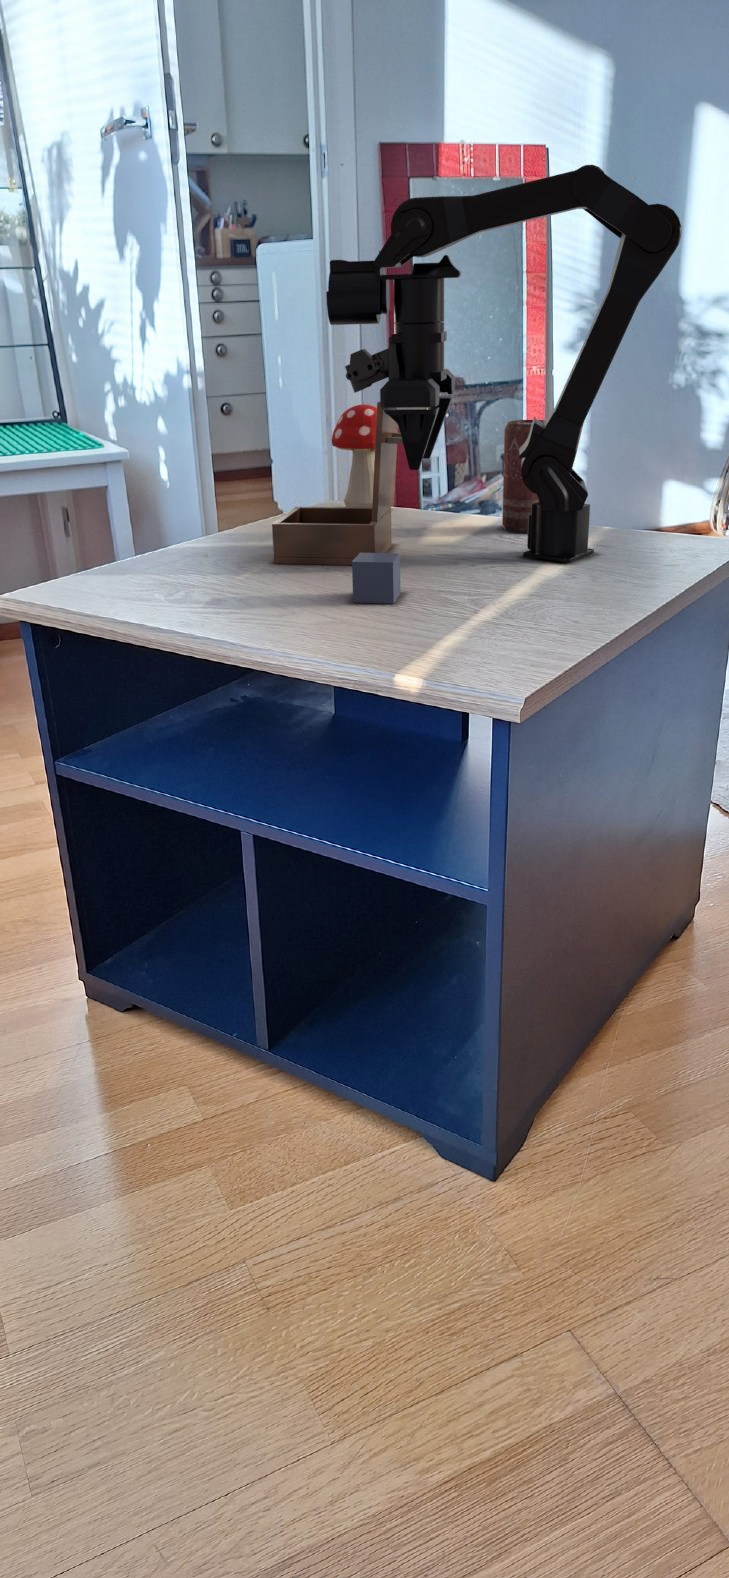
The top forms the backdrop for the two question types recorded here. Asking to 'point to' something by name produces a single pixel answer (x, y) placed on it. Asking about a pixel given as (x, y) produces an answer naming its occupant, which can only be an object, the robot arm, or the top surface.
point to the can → (516, 479)
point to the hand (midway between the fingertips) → (420, 464)
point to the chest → (329, 535)
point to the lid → (384, 463)
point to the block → (376, 578)
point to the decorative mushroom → (358, 451)
